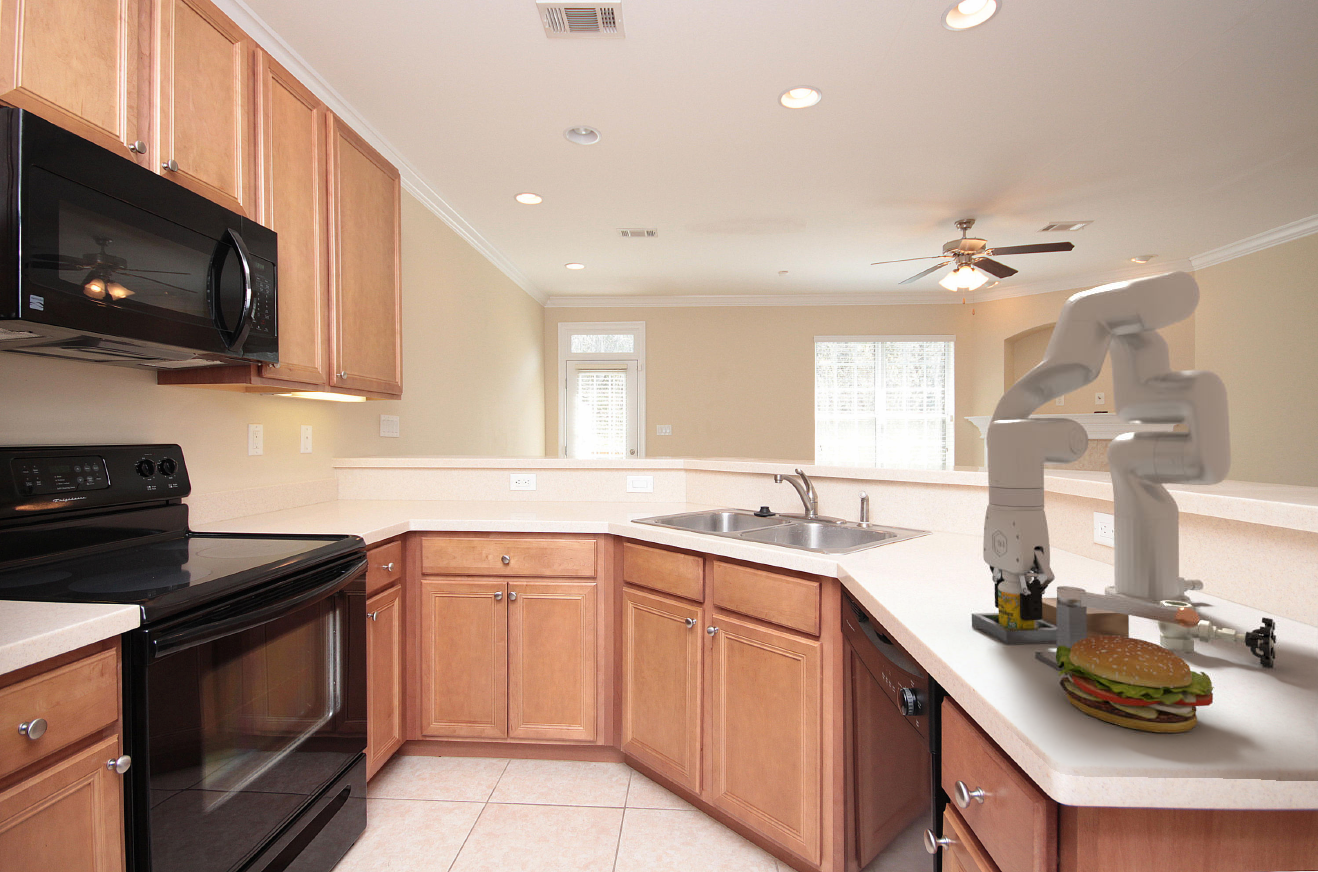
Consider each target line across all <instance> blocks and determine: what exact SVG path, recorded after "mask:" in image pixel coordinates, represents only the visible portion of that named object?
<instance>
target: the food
mask: <svg viewBox="0 0 1318 872" xmlns="http://www.w3.org/2000/svg"><path fill="white" fill-rule="evenodd" d="M1055 652H1056V661H1057V663H1058V667H1059V668H1060V669H1061V668H1063V667H1064V669H1063V670H1062V671H1059V670H1058V671H1059V672H1058V676H1062V675H1066V674H1065V673H1067V674H1068V675H1066V676H1063V677H1061V679H1060V681H1059V685H1060V687H1061V689H1062V690H1063V691H1064V692H1065V695H1066V697H1067V700H1068V702H1069V703H1070V704H1072V705H1073V706H1074V707H1076V708H1077V709H1078V710H1081V711H1082V712H1083V713H1085V714H1087V715H1089V716H1091V717H1094V718H1097V719H1099V720H1102V721H1105V722H1108V723H1111V724H1114V725H1118V726H1120V727H1125V728H1129V729H1134V730H1140V731H1144V732H1145V731H1146V732H1151V733H1183V732H1189V731H1191V730H1192V729H1193V728H1194V727H1195V726H1196V725H1197V724H1198V717H1197V714H1196V713H1197V710H1198V709H1197V707H1207V706H1210V705H1211V704H1213V701H1214V699H1213V698H1214V697H1213V695H1214V694H1213V690H1214V688H1215V687H1214V686H1213V685H1212V684H1213V682H1212V680H1211V679H1210V676H1209V675H1208V674H1207V673H1205V672H1204V671H1200V672H1199V673H1198V672H1196V671H1195V670H1191V668H1190V665H1189V664H1188V663H1187V662H1186V661H1185V660H1184V659H1183V658H1182V657H1181V656H1179V655H1178V654H1176V653H1174V652H1173V651H1172V650H1169V649H1165V648H1164V647H1163V646H1161V645H1159V644H1157V643H1154V642H1150V641H1147V640H1144V639H1140V638H1139V639H1138V638H1132V637H1129V638H1128V637H1122V636H1109V635H1102V636H1093V637H1088V638H1084V639H1081V640H1079V641H1078V642H1076V643H1074V644H1073V645H1072V647H1071V649H1070V648H1068V647H1066V646H1059V647H1058V648H1057V647H1056V651H1055Z"/></svg>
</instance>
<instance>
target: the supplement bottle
mask: <svg viewBox="0 0 1318 872" xmlns="http://www.w3.org/2000/svg"><path fill="white" fill-rule="evenodd" d="M1029 573H1033V572H1032V571H1029ZM1002 577H1003V579H1005V581H1003V582H1001V583H1000V584H999V585H998V608H997V609H998V613H999V624H1000V625H1002V626H1004V627H1006V628H1008V629H1022V628H1038V620H1026V621H1025V620H1022V619H1021V618H1020V593H1023V591H1022V586H1021V582H1020V577H1019V575H1015V574H1012V573H1009V572H1006V571H1003V570H1002ZM1028 580H1029V584H1030V583H1031V582H1032V581H1033V577H1028Z"/></svg>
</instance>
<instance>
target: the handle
mask: <svg viewBox="0 0 1318 872" xmlns="http://www.w3.org/2000/svg"><path fill="white" fill-rule="evenodd" d="M1056 598H1057V603H1058V604H1061V605H1064V606H1070V607H1090V608H1095V609H1100V610H1105V611H1111V612H1116V613H1121V614H1126V615H1129V616H1133V617H1138V618H1143V619H1147V620H1153V621H1163V622H1168V623H1173V624H1178V625H1179V626H1181V627H1184V628H1193V627H1196V626H1197V625H1198V624H1199V622H1200V621H1201V620H1200V616H1199V614H1198V612H1197V611H1195V609H1194V610H1193V609H1190V608H1187V607H1181V608H1175V607H1169V606H1164V605H1158V604H1152V603H1147V602H1141V601H1135V600H1129V599H1124V598H1118V597H1112V596H1107V595H1105V594H1101V593H1095V592H1089V591H1087V590H1086V589H1084V588H1082V587H1075V586H1066V585H1062V586H1057V587H1056Z"/></svg>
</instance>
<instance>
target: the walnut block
mask: <svg viewBox="0 0 1318 872" xmlns="http://www.w3.org/2000/svg"><path fill="white" fill-rule="evenodd" d="M1056 602H1057V597H1042V616H1043V617H1042V619H1041V620H1044V621H1046V622H1048V623H1051V624H1053V625H1055V626H1057V616H1056ZM1129 616H1130V615H1126V614H1121V613H1116V612H1111V611H1105V610H1100V609H1095V608H1090V607H1087V638H1088V637H1093V636H1102V635H1109V636H1122V637H1128V638H1130V632H1129V631H1130V628H1129V627H1130V626H1129V625H1130V624H1129V623H1130V619H1129V618H1130V617H1129Z"/></svg>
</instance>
